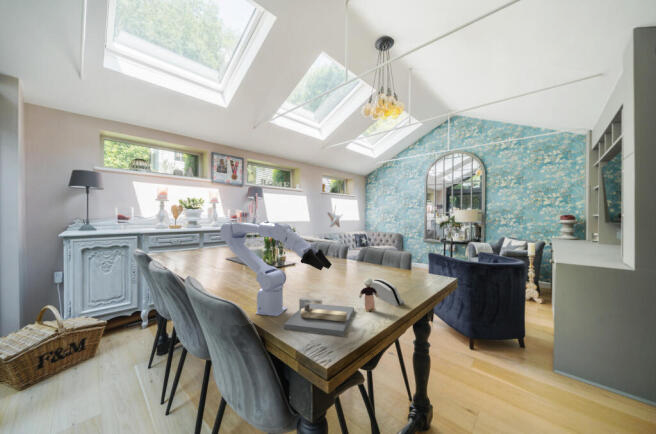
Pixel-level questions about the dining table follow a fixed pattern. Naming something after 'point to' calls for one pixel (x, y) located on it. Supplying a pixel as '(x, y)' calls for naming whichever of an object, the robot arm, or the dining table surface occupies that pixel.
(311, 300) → the keeper
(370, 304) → the grandmother figurine
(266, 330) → the dining table surface
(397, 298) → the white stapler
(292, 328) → the board
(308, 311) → the link
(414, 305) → the dining table surface
